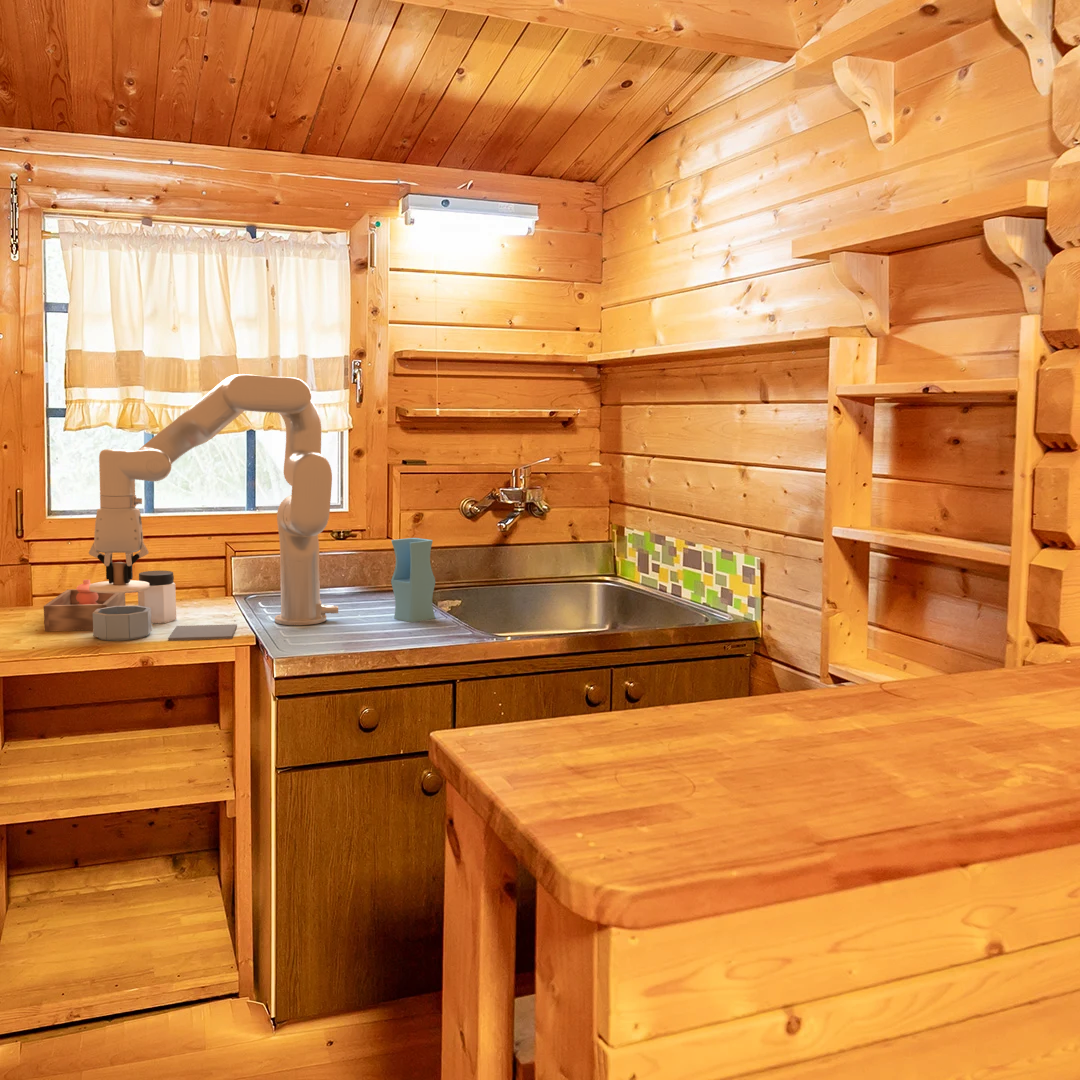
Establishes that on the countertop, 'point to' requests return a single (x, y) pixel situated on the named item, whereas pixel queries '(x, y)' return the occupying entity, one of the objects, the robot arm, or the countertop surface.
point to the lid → (119, 582)
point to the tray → (76, 611)
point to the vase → (413, 580)
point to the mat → (203, 632)
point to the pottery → (86, 594)
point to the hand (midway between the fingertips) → (119, 581)
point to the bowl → (122, 622)
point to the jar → (159, 595)
